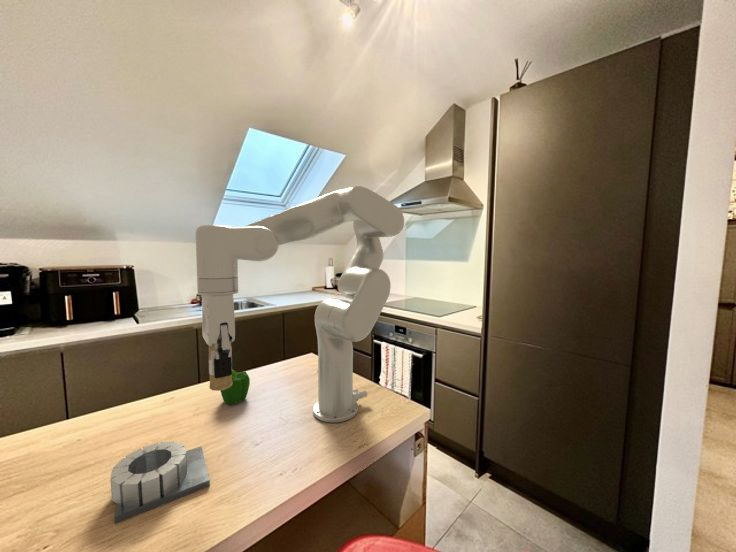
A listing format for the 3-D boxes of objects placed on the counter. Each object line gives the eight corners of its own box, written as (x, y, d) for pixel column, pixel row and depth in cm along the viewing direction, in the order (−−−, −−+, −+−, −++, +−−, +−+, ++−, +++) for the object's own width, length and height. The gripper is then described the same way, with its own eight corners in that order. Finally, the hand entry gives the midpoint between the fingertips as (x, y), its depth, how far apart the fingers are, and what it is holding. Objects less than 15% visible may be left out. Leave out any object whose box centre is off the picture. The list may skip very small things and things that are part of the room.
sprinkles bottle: (213, 382, 66) (211, 322, 65) (235, 381, 67) (234, 321, 66) (205, 392, 62) (203, 327, 60) (229, 391, 62) (227, 327, 61)
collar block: (201, 451, 68) (200, 429, 67) (209, 485, 58) (208, 460, 57) (116, 479, 59) (114, 454, 59) (109, 525, 49) (107, 496, 49)
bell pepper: (238, 391, 96) (236, 360, 95) (255, 398, 92) (254, 366, 91) (212, 403, 89) (211, 369, 88) (230, 410, 85) (229, 376, 84)
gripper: (192, 283, 67) (195, 363, 69) (203, 292, 53) (206, 392, 55) (229, 281, 71) (231, 356, 73) (247, 289, 58) (249, 382, 59)
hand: (220, 371), depth 64 cm, fingers closed on sprinkles bottle, 4 cm apart
